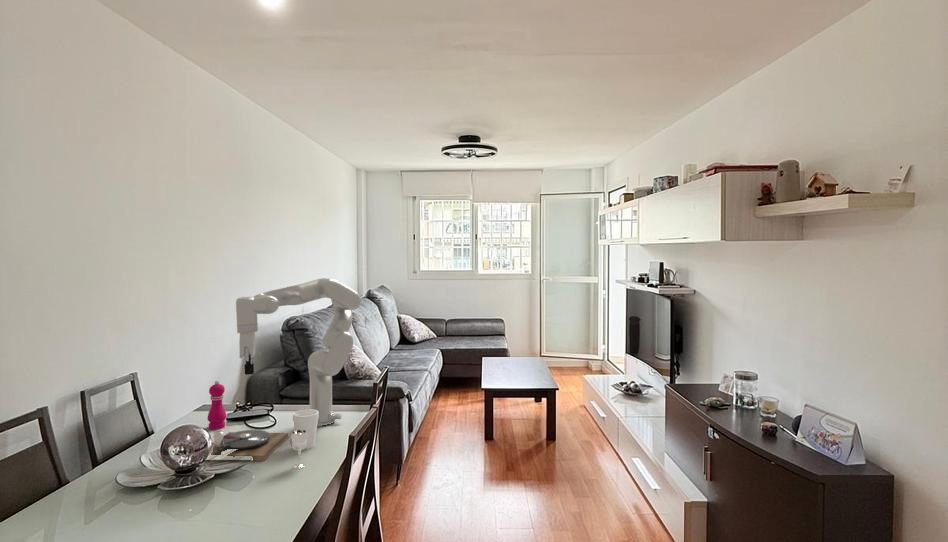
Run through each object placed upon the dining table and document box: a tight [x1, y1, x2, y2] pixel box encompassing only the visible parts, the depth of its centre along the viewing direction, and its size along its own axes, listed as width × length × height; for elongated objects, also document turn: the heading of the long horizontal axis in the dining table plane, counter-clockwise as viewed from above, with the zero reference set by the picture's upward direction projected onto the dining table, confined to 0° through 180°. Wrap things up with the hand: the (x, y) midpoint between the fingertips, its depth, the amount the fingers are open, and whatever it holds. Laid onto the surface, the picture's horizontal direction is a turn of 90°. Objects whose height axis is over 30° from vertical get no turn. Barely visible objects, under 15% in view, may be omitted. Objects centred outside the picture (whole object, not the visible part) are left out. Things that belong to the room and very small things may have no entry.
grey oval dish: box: [213, 429, 270, 453], centre depth 192 cm, size 22×17×7 cm
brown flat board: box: [211, 431, 289, 462], centre depth 194 cm, size 26×24×2 cm
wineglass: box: [289, 430, 308, 470], centre depth 178 cm, size 6×6×12 cm
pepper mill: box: [207, 380, 227, 430], centre depth 218 cm, size 7×7×20 cm
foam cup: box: [292, 408, 319, 450], centre depth 197 cm, size 10×9×13 cm
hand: (249, 373), depth 204 cm, fingers closed
